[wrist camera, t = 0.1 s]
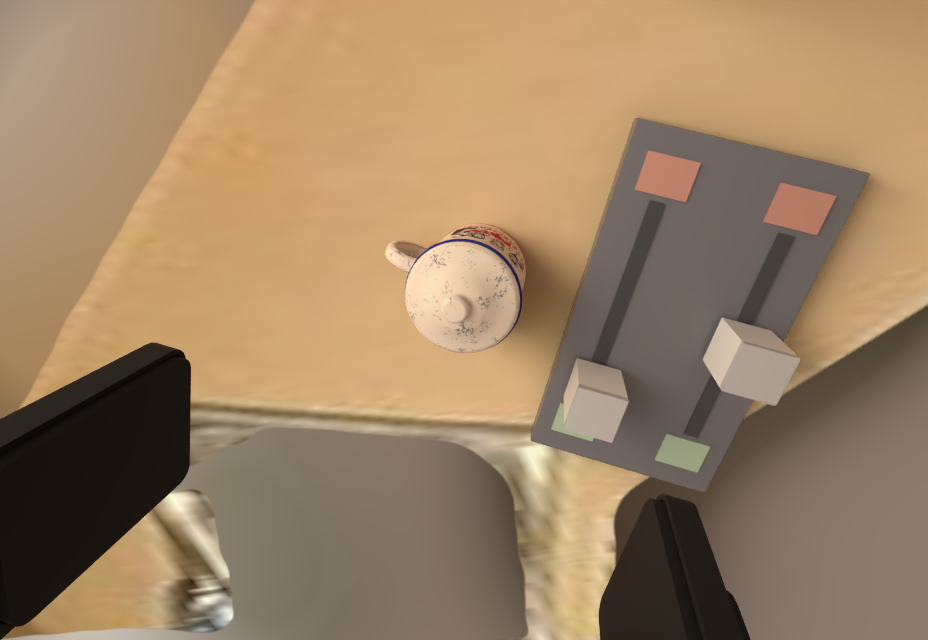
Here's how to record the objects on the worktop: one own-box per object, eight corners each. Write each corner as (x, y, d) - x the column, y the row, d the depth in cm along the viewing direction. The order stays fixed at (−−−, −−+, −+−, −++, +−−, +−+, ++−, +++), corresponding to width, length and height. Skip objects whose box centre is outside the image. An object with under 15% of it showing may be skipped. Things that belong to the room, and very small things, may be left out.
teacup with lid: (546, 247, 45) (541, 284, 34) (502, 332, 48) (485, 389, 37) (424, 188, 45) (380, 206, 34) (389, 277, 48) (340, 319, 38)
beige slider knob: (721, 317, 41) (744, 343, 36) (771, 330, 41) (801, 359, 36) (702, 359, 43) (721, 390, 38) (749, 372, 43) (775, 406, 38)
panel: (634, 118, 40) (638, 117, 38) (855, 171, 38) (871, 173, 36) (531, 429, 51) (530, 441, 49) (699, 479, 50) (705, 494, 48)
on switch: (576, 357, 45) (578, 387, 40) (621, 370, 45) (628, 401, 39) (563, 395, 46) (563, 428, 41) (606, 408, 46) (611, 443, 41)
